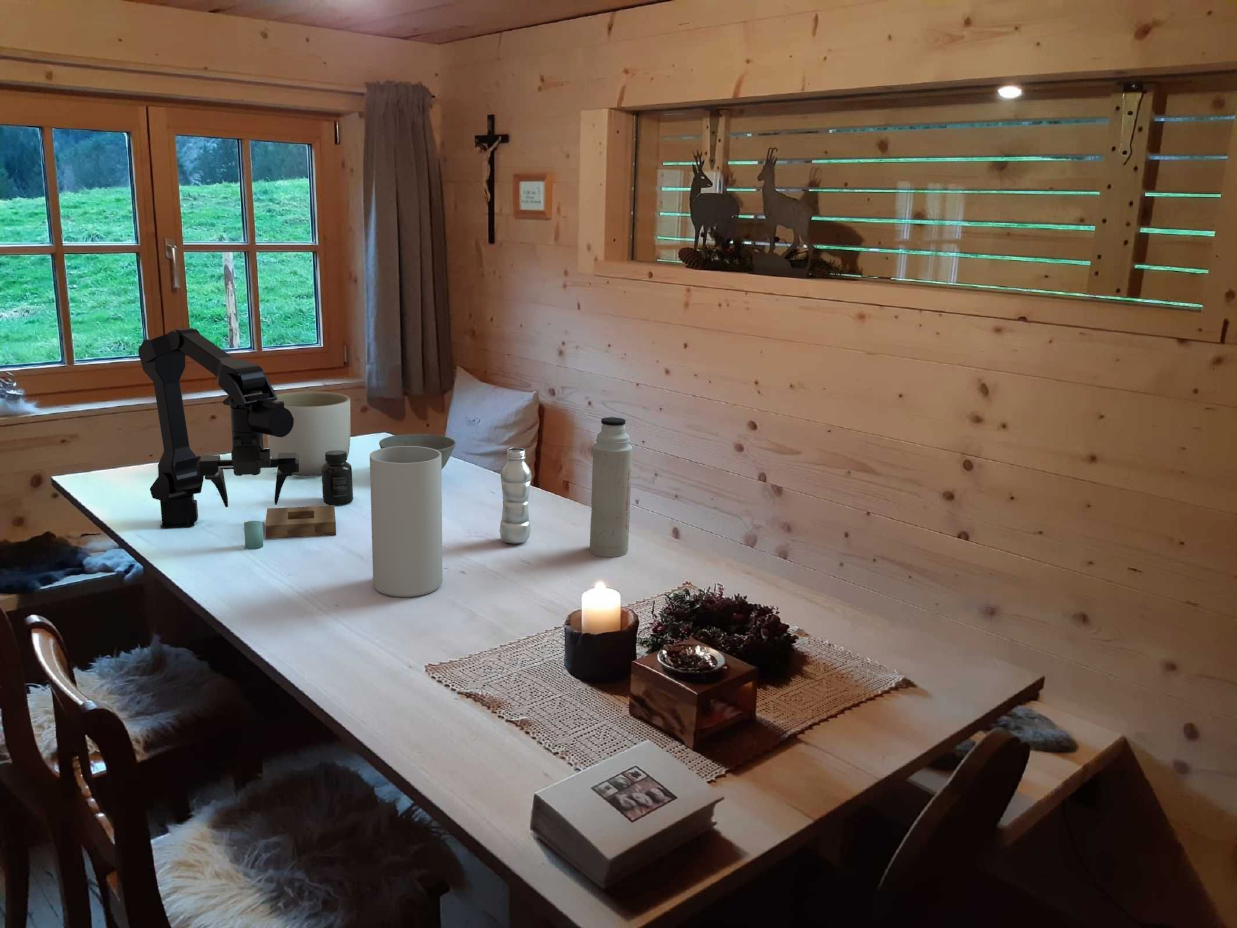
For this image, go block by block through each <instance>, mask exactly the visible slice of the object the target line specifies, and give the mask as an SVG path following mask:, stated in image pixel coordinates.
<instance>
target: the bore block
mask: <svg viewBox="0 0 1237 928" xmlns="http://www.w3.org/2000/svg"><path fill="white" fill-rule="evenodd" d="M264 521H265V523H264V532H265V533H264V534H265V537H264V538H265V540H279V539H283V540H284V539H295V538H296V539H297V538H298V539H300V538H311V537H312V538H313V537H317V538H318V537H329V536H333V537H334V536H337V523H336V508H335V506H334V505H327V504H325V505H310V506H309V505H308V506H291V507H289V506H287V507H269V508H267V509H266V514H265V520H264Z"/></svg>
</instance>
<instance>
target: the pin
mask: <svg viewBox="0 0 1237 928" xmlns="http://www.w3.org/2000/svg"><path fill="white" fill-rule="evenodd" d="M243 532H244V545H245V546H244V547H245V549H246V550H251V551H252V550H260V549H263V547H264V535H263V534H264V533H263V522H262V521H260V520H248V521H245V522H244V523H243Z"/></svg>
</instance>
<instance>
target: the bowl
mask: <svg viewBox="0 0 1237 928" xmlns="http://www.w3.org/2000/svg"><path fill="white" fill-rule="evenodd" d="M456 444H457V443H456V440H454V439H453V438H451V437H448V436H442V435H439V434H431V433H407V434H405V433H403V434H396V435H390V436H386V437H383V438H381V439H380V440H379V442H378V445H379V447H380V448H379V449H382V448H388V447H397V446H418V447H427V448H432V449H435V450H438V451H439V452H441V463H442V470H443V469H444V468H445V466H446V464H447V463H448V461H449V459H450V457H451V455H452V453H453V451H454V449H455V447H456Z"/></svg>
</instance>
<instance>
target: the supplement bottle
mask: <svg viewBox="0 0 1237 928" xmlns="http://www.w3.org/2000/svg"><path fill="white" fill-rule="evenodd" d="M325 461H326V463H325V464H324V465H323V466H322V468H321V472H322V475H321V486H322V487H321V488H322V490H321V491H322V502H323V503H324V504H325V505H334V507H335V506H336V507H337V506H339V507H340V506H346V505H349V504H351V503H352V502H353V500H354V491H353V490H354V489H353V470H352V469H353V468H352V465H351V464H350V463H349V462H347V461H348V457H347V452H346V451H342V450H333V451H328V452H326V453H325Z"/></svg>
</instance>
